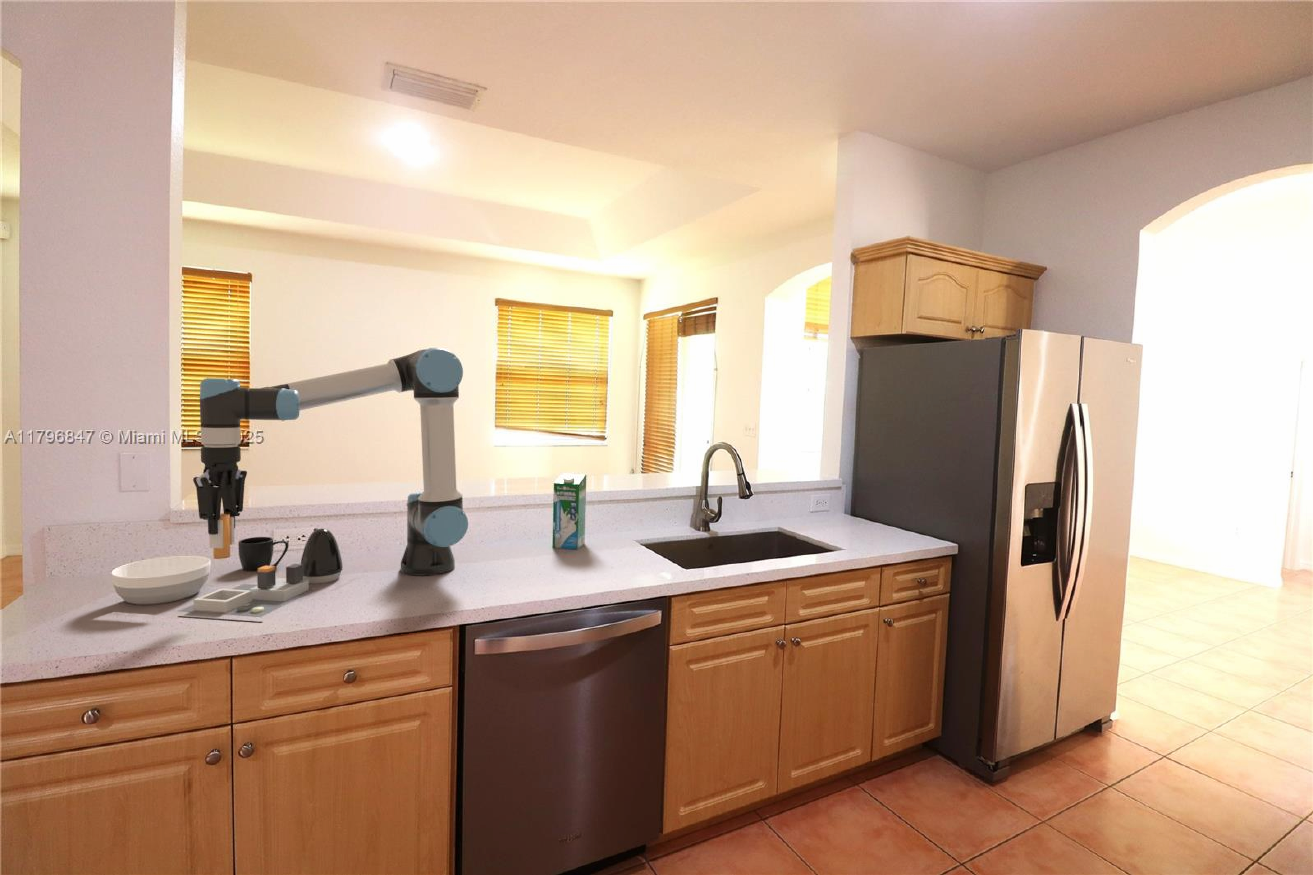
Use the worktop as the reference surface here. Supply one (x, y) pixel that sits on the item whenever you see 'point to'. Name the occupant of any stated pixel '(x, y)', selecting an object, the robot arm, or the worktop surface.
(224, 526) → the pin
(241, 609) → the panel board
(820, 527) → the worktop surface
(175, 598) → the bowl
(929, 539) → the worktop surface
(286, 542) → the mug
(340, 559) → the black domed piece
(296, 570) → the block
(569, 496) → the milk carton
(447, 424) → the robot arm
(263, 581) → the block
